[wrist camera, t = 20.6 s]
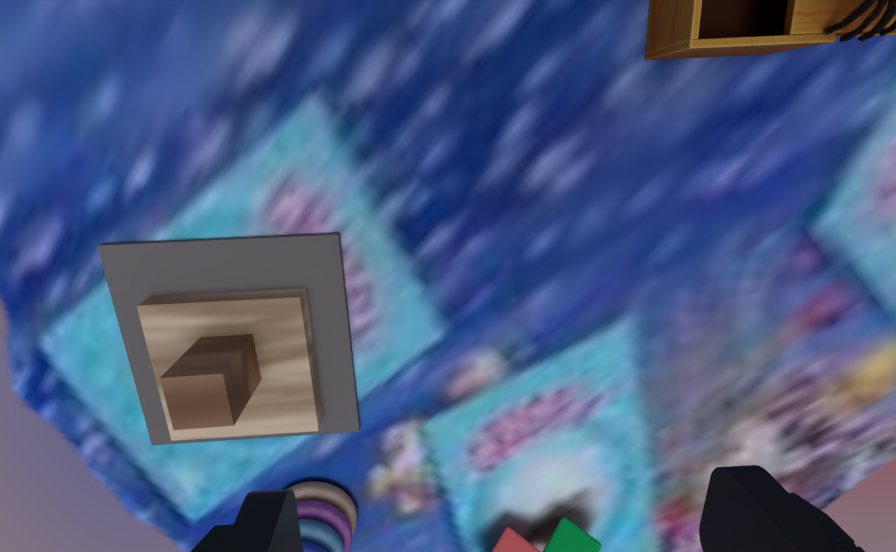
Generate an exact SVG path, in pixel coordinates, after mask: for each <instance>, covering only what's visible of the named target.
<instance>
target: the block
mask: <svg viewBox="0 0 896 552" xmlns="http://www.w3.org/2000/svg"><path fill="white" fill-rule="evenodd" d="M160 381H161V385H162V389H163V393H164V396H165V400H166V404H167V407H168V411H169V415H170V419H171V422H172V426H173V430H184V429H197V428H210V427H224V426H234V425H235V423H236V422H237V420H238V418H239V417H240V415H241V413H242V412H243V410H244V408H245V406H246V405H247V403H248V401H249V400H250V398H251V396H252V395H253V393H254V391H255V390H256V388H257V386H258V385H259V383H260V381H261V375H260V369H259V364H258V359H257V354H256V349H255V343H254V338H253V334H247V335H232V336H217V337H202V338H199V339H198V340H197V341H196V342H195V343H194V344H193V345H192V346H191V347H190V348H189V349H188V350H187V351H186V352H185V353H184V354H183V355H182V356H181V357H180V358H179V359H178V360H177V361H176V362H175V363H174V364H173V365H172V366H171V367H170V368H169V369H168V370H167V371H166V372H165V373H164V374H163V375H162V376H161V377H160Z"/></svg>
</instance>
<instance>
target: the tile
mask: <svg viewBox="0 0 896 552" xmlns="http://www.w3.org/2000/svg"><path fill="white" fill-rule="evenodd" d="M137 309H138V313H139V317H140V321H141V325H142V329H143V333H144V337H145V340H146V344H147V348H148V352H149V356H150V360H151V364H152V368H153V371H154V375H155V379H156V383H157V387H158V391H159V395H160V399H161V402H162V406H163V410H164V414H165V418H166V422H167V426H168V429H169V433H170V437H171V441H177V440H192V439H207V438H222V437H238V436H253V435H268V434H283V433H298V432H313V431H319V428H320V425H321V422H322V419H323V412H322V405H321V398H320V390H319V383H318V375H317V368H316V361H315V353H314V346H313V338H312V331H311V324H310V316H309V309H308V302H307V294H306V288H301V289H281V290H262V291H242V292H223V293H203V294H184V295H164V296H150V297H149V298H147V299H146V300H144V301H143V302H141V303H140V304H138V305H137ZM247 334H253V338H254V343H255V349H256V354H257V359H258V364H259V369H260V375H261V381H260V383H259V385H258V386H257V388H256V390H255V391H254V393H253V395H252V396H251V398H250V400H249V401H248V403H247V405H246V406H245V408H244V410H243V412H242V413H241V415H240V417H239V418H238V420H237V422H236V423H235V425H234V426H224V427H210V428H197V429H184V430H173V426H172V422H171V419H170V415H169V411H168V407H167V404H166V400H165V396H164V393H163V389H162V385H161V381H160V377H161V376H162V375H163V374H164V373H165V372H166V371H167V370H168V369H169V368H170V367H171V366H172V365H173V364H174V363H175V362H176V361H177V360H178V359H179V358H180V357H181V356H182V355H183V354H184V353H185V352H186V351H187V350H188V349H189V348H190V347H191V346H192V345H193V344H194V343H195V342H196V341H197V340H198V339H199V338H202V337H217V336H232V335H247Z"/></svg>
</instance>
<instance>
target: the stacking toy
mask: <svg viewBox="0 0 896 552" xmlns="http://www.w3.org/2000/svg"><path fill="white" fill-rule="evenodd" d="M289 489H291V490H293V491H294V494H295V499H296V506H297V512H298V519H299V526H300V533H301V540H302V547H303V552H348V551H349V549H350V546H351V543H352V535H353V533H354V531H355V528H356V524H357V511H356V507H355V505H354V503H353V501H352V499H351V498H350V497H349V496H348V495H347V494H346V493H345V492H344V491H343V490H341V489H340V488H338V487H336V486H334V485H332V484H329V483H325V482H319V481H308V482H303V483H299V484H296V485H293V486H291V487H290V488H288V489H286V490H289Z"/></svg>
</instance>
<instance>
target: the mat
mask: <svg viewBox="0 0 896 552" xmlns="http://www.w3.org/2000/svg"><path fill="white" fill-rule="evenodd" d="M98 250H99V254H100V257H101V261H102V264H103V268H104V272H105V275H106V279H107V283H108V286H109V290H110V294H111V297H112V301H113V305H114V308H115V312H116V315H117V319H118V323H119V326H120V330H121V334H122V337H123V341H124V345H125V348H126V352H127V356H128V359H129V363H130V366H131V370H132V374H133V377H134V381H135V385H136V388H137V392H138V396H139V399H140V403H141V407H142V410H143V414H144V417H145V421H146V425H147V428H148V432H149V436H150V439H151V443H152V445H162V444H177V443H192V442H207V441H222V440H237V439H252V438H267V437H282V436H297V435H312V434H327V433H342V432H357V431H360V421H359V411H358V402H357V393H356V383H355V374H354V365H353V355H352V346H351V337H350V327H349V318H348V309H347V299H346V290H345V281H344V271H343V262H342V253H341V243H340V234H339V233H325V234H304V235H282V236H260V237H238V238H216V239H194V240H172V241H150V242H129V243H107V244H100V245H98ZM301 288H306V294H307V302H308V309H309V316H310V324H311V331H312V338H313V346H314V353H315V361H316V368H317V375H318V383H319V390H320V398H321V405H322V412H323V419H322V422H321V425H320V428H319V431H313V432H298V433H283V434H268V435H253V436H238V437H222V438H207V439H192V440H177V441H171V437H170V433H169V429H168V426H167V422H166V418H165V414H164V410H163V406H162V402H161V399H160V395H159V391H158V387H157V383H156V379H155V375H154V371H153V368H152V364H151V360H150V356H149V352H148V348H147V344H146V340H145V337H144V333H143V329H142V325H141V321H140V317H139V313H138V309H137V305H138V304H140V303H141V302H143V301H144V300H146V299H147V298H149V297H150V296H164V295H184V294H203V293H223V292H242V291H262V290H281V289H301Z"/></svg>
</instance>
